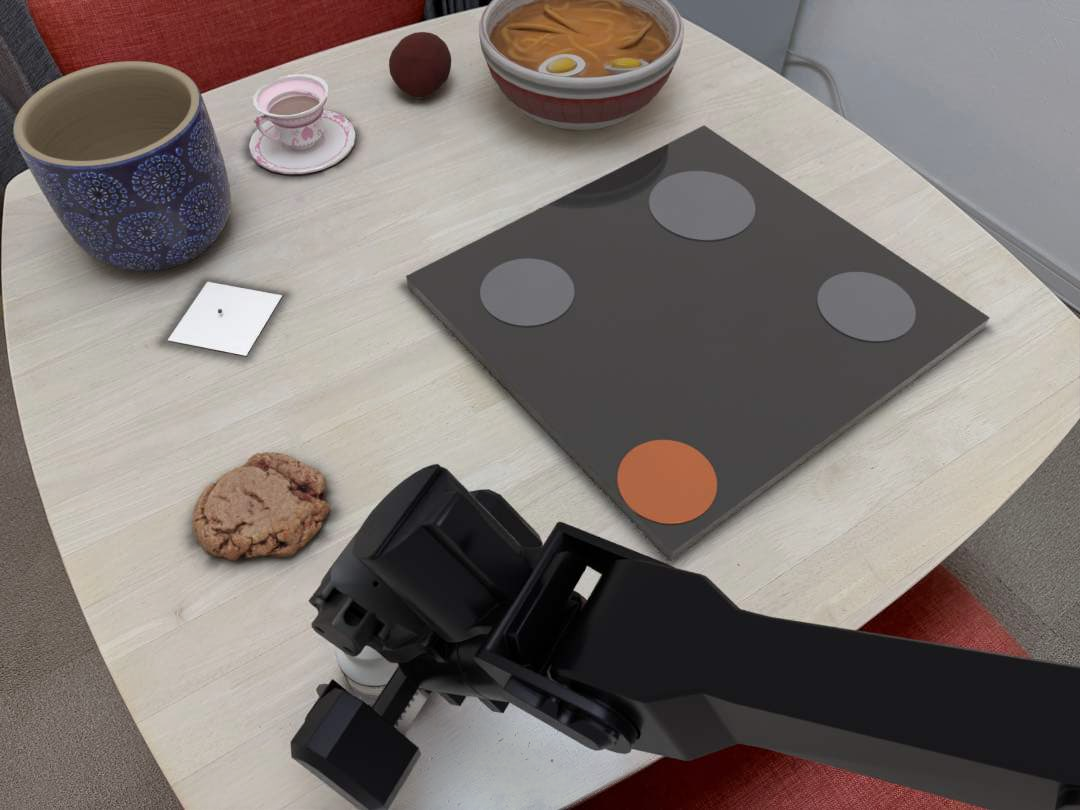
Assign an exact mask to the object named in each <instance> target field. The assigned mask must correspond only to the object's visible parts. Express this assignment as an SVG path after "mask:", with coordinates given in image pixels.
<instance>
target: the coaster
mask: <svg viewBox="0 0 1080 810" xmlns="http://www.w3.org/2000/svg"><path fill="white" fill-rule="evenodd" d="M282 297H283V295H282V294H277V293H270V292H265V291H262V290H261V291H260V290H254V289H250V288H243V287H239V286H233V285H228V284H222V283H217V282H212V281H206V283H205V284H204V286H203V287H202V289H201V290H200V292H199V293H198V295H197V296H196V298H194V301H193V302H192V303H191V305H190V306H189V308H188V309H187V311H186V313H185V314H184V315H183V317H182V318H181V319H180V321H179V322H178V324H177V325H176V327H175V328H174V330H173V331H172V333H171V334H170V336H169V337H168V339H167V341H169V342H174V343H179V344H183V345H189V346H194V347H200V348H204V349H209V350H214V351H215V350H216V351H221V352H226V353H230V354H234V355H235V354H236V355H240V356H246V357H247V355H248V353H249V352H250V351H251V348H252V347H253V345H254V344H255V342H256V341H257V338H258V337H259V335H260V333H261V332H262V330H263V329H264V326H265V325H266V324H267V322H268V320H269V319H270V317H271V315H272V314H273V312H274V311H275V308H276V307H277V306H278V304H279V302H280V300H281V298H282Z"/></svg>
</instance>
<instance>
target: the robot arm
mask: <svg viewBox="0 0 1080 810" xmlns="http://www.w3.org/2000/svg"><path fill="white" fill-rule="evenodd" d="M587 567H588V568H590V569H591V570H593V571H595V573H598V574H599V575H600V577H599V578H598V580H597V582H596V583H595V585H594V587H593V589H592V590H591V593H590V594H589V596H588V598H585V597H584V596H583V595H582V594H581V593H580V592H578V591H576V590H575V589H576V587H577V585H578V584H579V581H580V580H581V578H582V577H583V575H584V573H585V571H586V569H587ZM308 603H309V604H310V605H311V606H312V607H314V608H315V609H316V610H317V615H316V617H315V618H314V619H313V620H312V621H311V623H310V625H311V628H312V630H314V632H315V633H316V634H317V635H319V636H320V637H322V638H323V639H324V640H325V641H327V642H329V643H331V645H333V646H334V647H335V646H336V647H337V648H339V649H340V650H342V651H343V652H344V653H346V654H348V655H350V656H352V657H355V656H358V655H359V654H360V653H361V652H362V650H363V649H364V647H365V646H369V647H371V648H372V649H374V650H376V651H377V652H378V653H379V654H380V655H381V656H383V657H384V658H385V659H386V660H387V661H388V662H390V663H398V665H399V666H398V667H397V669H396V670H395V672H394V673H393V675H392V676H391V678H390V680H389V681H388V683H387V684H386V686H385V687H384V689H383V690H382V692H381V693H380V695H379V696H378V698H377V699H376V701H375V702H374V704H373V705H372V707H371V706H370V705H369V704H366V703H365V702H364V701H362V700H360V699H359V698H357V697H355V696H354V695H353V693H352V694H351V692H350V691H348V690H347V689H346V688H344V687H343V686H342V685H341V684H339V683H338V682H337V681H336V680H335V679H334V678H332V679H330V681H329V683H320V684H318V685H317V687H316V688H315V691H316V693H317V695H318V698H317V700H316V701H315V703H314V704H313V705H312V706H311V708H310V709H309V711H308V713H307V714H306V715H305V718H304V721H303V723H302V725H300V728H299V729H298V730H297V731H296V733H295V735H294V736H293V737H292V739H291V740H290V755H291V756H290V757H291V759H292V760H294V761H296V762H297V763H298V764H299V765H301V766H302V767H303V768H305V769H306V770H307V771H308V772H309V773H311V774H312V775H314V776H315V777H316V778H317V779H319V780H320V781H322V782H323V784H325V785H327V786H328V787H329V788H330V789H331V790H333V791H334V792H336V793H337V794H338V795H339V796H340V797H342V798H343V799H344V800H346V801H347V802H348V803H350V804H351V805H352V806H354V808H356V809H357V810H389V809H390V808H391V806H392V804H393V803H394V801H395V799H396V798H397V796H398V794H399V793H400V791H401V789H402V788H403V786H404V785H405V782H406V781H407V779H408V778H409V777H410V775H411V773H412V771H413V769H414V768H415V766H416V765H417V763H418V761H419V760H420V758H421V756H422V752H421V749H420V747H419V746H418V745H416V744H415V743H414V742H413V741H412V740H411V739H409V738H408V737H407V734H408V732H409V729H410V728H411V726H412V725H413V723H414V721H415V720H416V718H417V717H418V715H419V714H420V712H421V710H422V709H423V707H424V705H425V704H426V702H427V701H428V699H429V698H430V696H431V695H432V693H433V692H436V693H437V694H438V695H439V696H440V697H441V698H442V699H444V700H445V701H446V702H447V703H449V704H450V705H452V706H457V707H462V705H463V703H464V702H465V699H466V698H467V697H470V698H477V699H478V700H479V701H480V702H481V703H482V704H483V705H485V707H487V708H488V709H489V710H490V711H491V712H493V713H498V714H504V713H506V712H505V711H506V710H507V708H508V707H509V705H510V704H511V705H513V706H515V707H516V708H518V709H520V710H521V711H522V712H525V713H527V714H528V715H530V716H532V717H534V718H536V719H537V720H539V721H541V722H542V723H544V724H546V725H547V726H549V727H551V728H552V729H554V730H555V731H558V732H560V733H561V734H562V735H565V736H567V738H570V739H572V740H574V741H575V742H577V743H579V744H580V745H582V746H584V747H586V748H588V749H590V750H592V751H594V752H595V751H596V752H599V751H603V750H605V751H610V752H613V753H616V754H621V755H627V754H630V753H632V750H635V751H637V752H643V753H648V754H652V755H657V756H662V757H666V758H671V759H676V760H681V761H685V762H686V761H687V762H688V761H693V760H695V759H698V758H701V757H704V756H707V755H709V754H713V753H716V752H718V751H721V750H724V749H727V748H730V747H732V746H735V745H738V744H740V745H745V746H752V747H756V748H762V749H767V750H770V751H774V752H777V753H781V754H783V755H784V754H785V755H788V756H790V757H791V756H792V757H795V758H799V759H803V760H805V761H806V760H807V761H809V762H813V763H817V764H821V765H824V766H828V767H832V768H836V769H839V770H843V771H847V772H850V773H854V774H857V775H860V776H865V777H868V778H872V779H876V780H879V781H883V782H888V783H890V784H894V785H898V786H901V787H905V788H909V789H912V790H915V791H919V792H923V793H926V794H931V795H934V796H938V797H941V798H945V799H949V800H953V801H956V802H959V803H964V804H967V805H969V806H974V807H978V808H981V809H985V810H1080V665H1076V664H1070V663H1063V662H1058V661H1050V660H1044V659H1039V658H1032V657H1026V656H1019V655H1014V654H1007V653H1001V652H995V651H990V650H989V651H988V650H984V649H983V650H982V649H975V648H969V647H962V646H957V645H950V644H944V643H937V642H932V641H925V640H920V639H913V638H907V637H901V636H894V635H887V634H881V633H877V632H871V631H870V632H869V631H863V630H857V629H856V630H855V629H851V628H843V627H838V626H832V625H825V624H819V623H818V624H817V623H812V622H806V621H800V620H795V619H794V620H793V619H788V618H782V617H775V616H769V615H765V614H762V613H758V612H753V611H750V610H746V609H742V608H740V607H739V606H738V605H737V604H736V603H735V602H734V601H733V600H732V599H731V598H730V597H728V596H727V594H725V592H724V591H722V589H720V587H718V586H717V584H715V583H714V581H712V580H711V579H710V578H709V577H708V576H707V575H705V574H701V573H698V572H694V571H689V570H686V569H681V568H678V567H674V566H672V565H671V564H669V563H666V562H664V561H661V560H659V559H656V558H654V557H652V556H650V555H649V556H648V555H646V554H644V553H641V552H639V551H637V550H634V549H631V548H628V547H626V546H624V545H621V544H618V543H616V542H613V541H611V540H608V539H606V538H604V537H601V536H600V535H596V534H593V533H591V532H588V531H586V530H583V529H581V528H578V527H576V526H573V525H570V524H568V523H565V522H563V521H557V522H556V523H555V525H554V527H553V528H552V530H551V531H550V533H549V535H548V537H547V538H546V539H545V541H544V542H543V540H542V538H541V535H540V534H539V532H537V531H536V530H535V529H534V527H532V526H531V524H530V523H528V521H527V520H525V518H524V517H523V516H522V515H521V514H520V513H519V512H518V511H517V510H516V509H515V508H514V507H513V506H512V505H511V504H510V503H509V502H508V501H507V499H506V498H505V497H504V496H503V495H502V494H500V493H498V492H496V491H495V490H492V489H489V488H487V489H486V488H485V489H482V488H481V489H476V490H470V491H469V490H468V489H467V488H466V487H465V485H463V484H462V483H461V481H459V480H458V478H457V477H456V476H455V475H454V474H453V473H452V472H451V471H450V470H449V469H448V468H447V467H444V466H441V465H440V464H439V463H434V464H430V465H428V466H425V467H423V468H420V469H419V470H417V471H415V472H413V473H412V474H411V475H409V476H408V477H406V478H405V479H403V480H402V481H401V482H400V483H399V484H398V485H396V486H395V487H393V489H392V490H390V491H389V492H388V493H387V494H386V495H385V496H384V497H382V499H381V500H380V502H379V503H377V505H376V506H375V507H374V508H373V509H372V510H371V512H370V513H369V515H368V516H367V517H366V518H365V520H364V522H362V525H361V526H360V527H359V529H358V530H357V531H356V533H355V534H354V535H353V536H352V538H351V539H350V541H349V542H348V543H347V544H346V545H345V547H344V548H343V550H342V551H341V553H340V554H339V555H338V557H337V558H336V559H335V561H334V562H333V563H332V564H331V566H330V567H329V569H328V570H327V571H326V573H325V575H324V576H323V578H322V579H321V582H320V585H319V586H318V587H317V589H316V590H315V592H314V593H313V594H312V595H311V596H310V598H309V599H308Z"/></svg>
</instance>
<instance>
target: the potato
mask: <svg viewBox="0 0 1080 810" xmlns="http://www.w3.org/2000/svg"><path fill="white" fill-rule="evenodd" d="M388 69H389V75H390V76H391V78H392V80H393V82H394V83H395V85H396V86H397V87H398V89H399V90H400V91H401V92H403V94H405V95H406V96H408V97H410V98H414V99H425V98H427V97H430V96H432V95H433V94H435V93H436V92H437V91H439V90H440V89H441V88H442V87H443V85H444V84H445V83H446V81H447V80H448V79H449V77H450V73H451V69H452V55H451V51H450V50H449V46H448V45H447V43H446V42H445V41H444V40H443V39H442V38H441V37H440V36H438V34H434V33H432V32H429V31H416V32H412V33H411V34H408V35H406V36H404V37H403V38H402V39H400V40H399V42H398V43H397V44H396V46H395V47H394V48H393V50H392V51H391V53H390V57H389V59H388Z"/></svg>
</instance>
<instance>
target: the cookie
mask: <svg viewBox="0 0 1080 810" xmlns="http://www.w3.org/2000/svg"><path fill="white" fill-rule="evenodd" d="M326 481H327V480H326V477H325V475H324V474H323V473H322V472H321V470H318V469H316V468H314V467H312V466H310V465H307V464H306V463H303V462H300V461H299V459H297V458H295V457H293V456H290V455H288V454H285V453H282V452H281V453H280V452H267V451H264V452H262V453H260V452H256V453H255V454H252V455H251V457H249V458H248V460H247V461H246V462H245V463H244V464H243V465H241V466H238V467H235V468H232V470H229V471H228V472H226V473H224V474H222V475H221V476H220V477H219V478H218V479H217V480H216V482H213V483H211V484H208V486H206V487H205V488H204V490H203V491H202V493H201V494H200V495H199V496H198V499H197V500H196V502H195V504H194V510H193V515H192V522H191V523H192V530H193V533H194V536H195V538H196V540H197V541H198V543H199V544H200V545H201V547H202V548H203V550H205V551H206V552H207V553H208V554H211V555H212V556H213V557H214V556H215V557H220V558H226V559H227V560H229V561H238V559H239V557H241V556H243V555H244V558H245V559H246V560H247V559H250V558H253V557H255V558H257V557H259V556H267V555H268V556H269V555H272V556H275V557H277V558H283V557H289V556H293V555H295V554H296V553H297V551H299V550H300V549H302V548H304V547H305V545H306V544H307V543H308V542H309V541H311V540H312V539H313V538H315V536H316V535H317V533H319V532H320V530H321V529H322V527H323V525H324V522H323V521H324V520H326V519H327V515H328V514H330V511H331V507H330V505H329V503H328V502H327V501H326V499H325V497H326V496H327V482H326Z"/></svg>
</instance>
